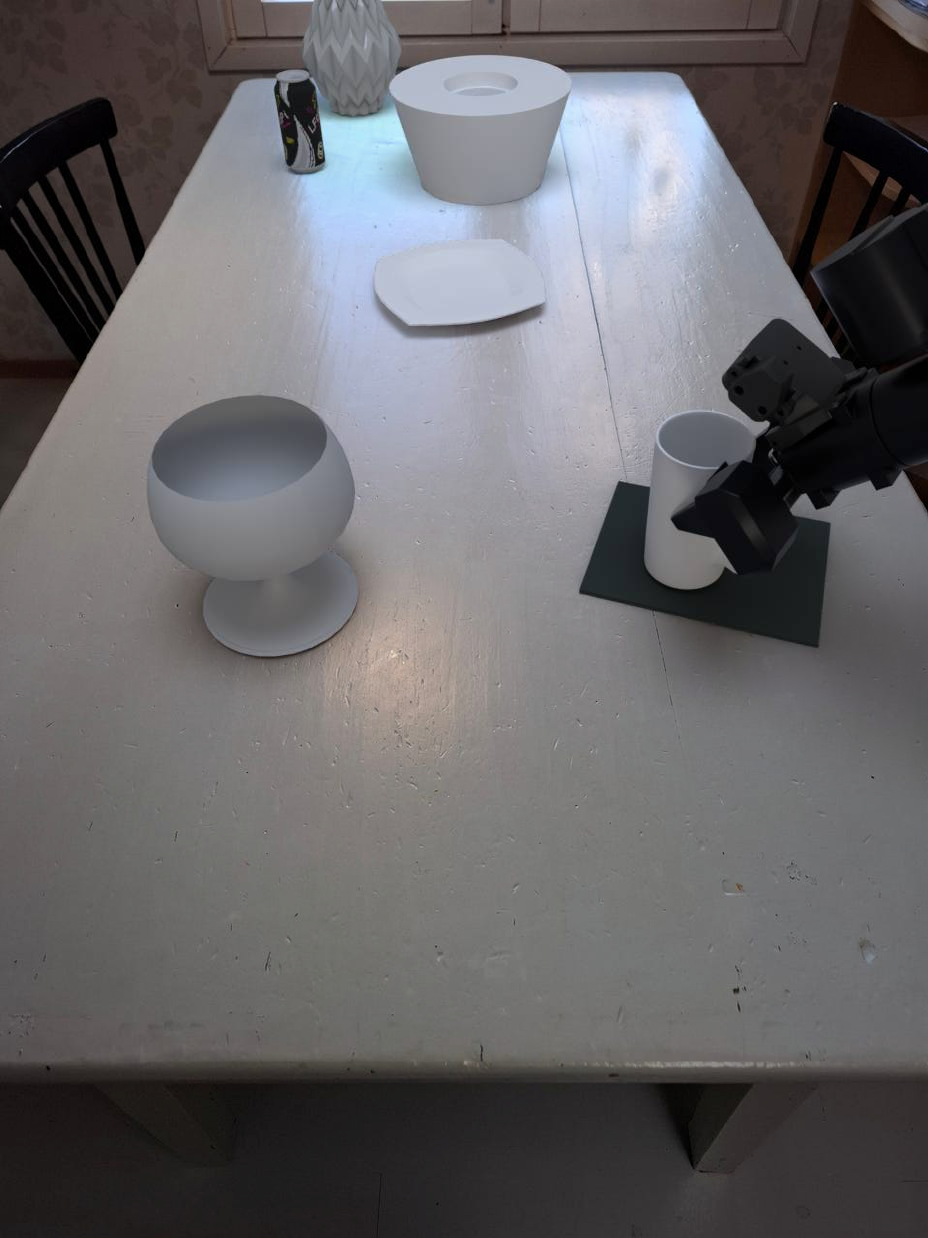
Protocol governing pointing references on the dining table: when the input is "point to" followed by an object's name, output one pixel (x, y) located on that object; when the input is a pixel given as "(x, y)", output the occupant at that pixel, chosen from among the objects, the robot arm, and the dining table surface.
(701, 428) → the mug
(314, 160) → the beverage can
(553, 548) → the dining table surface
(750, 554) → the robot arm
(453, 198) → the white tapered cylinder
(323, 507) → the chalice
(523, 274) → the plate
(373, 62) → the vase
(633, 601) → the mat
